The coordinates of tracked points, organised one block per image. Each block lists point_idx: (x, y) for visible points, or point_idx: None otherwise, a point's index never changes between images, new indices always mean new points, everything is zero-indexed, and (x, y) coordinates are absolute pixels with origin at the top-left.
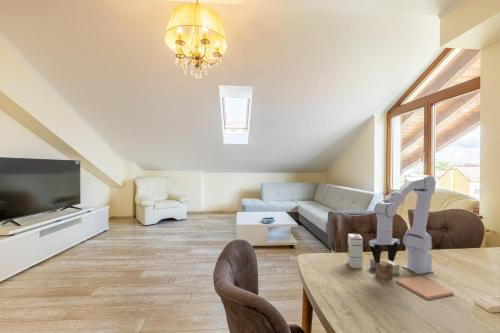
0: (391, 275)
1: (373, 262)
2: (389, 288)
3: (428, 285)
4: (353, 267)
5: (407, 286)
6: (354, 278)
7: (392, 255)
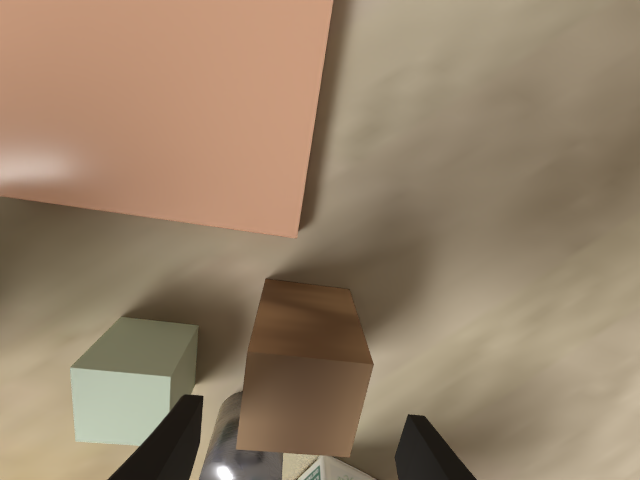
0: (274, 293)
1: (278, 470)
2: (439, 190)
3: (97, 32)
4: (369, 476)
5: (314, 122)
6: (510, 376)
7: (168, 478)
